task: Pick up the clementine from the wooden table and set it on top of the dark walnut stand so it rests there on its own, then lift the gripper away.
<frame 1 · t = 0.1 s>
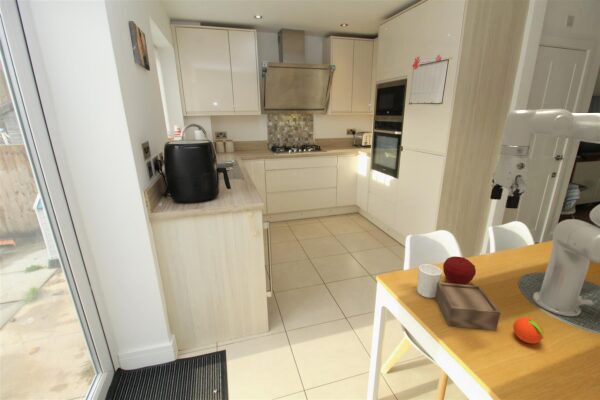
hand: (502, 203, 91), 37 cm above the table, tool pointing down, fingers open, 9 cm apart
white cup: (426, 293, 106), on the table
clementine: (526, 341, 83), on the table
apple: (456, 284, 111), on the table
walnut stand: (463, 313, 94), on the table
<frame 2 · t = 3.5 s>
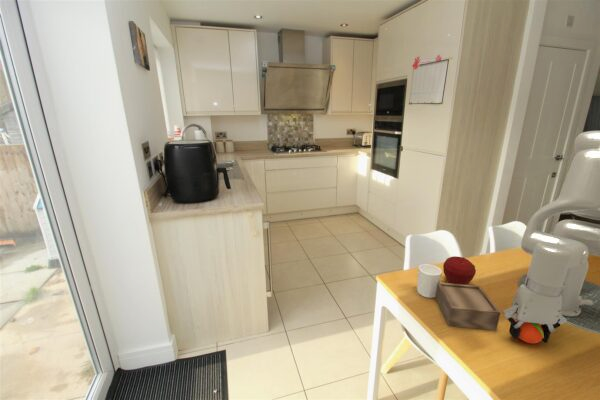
hand: (527, 337, 82), 1 cm above the table, tool pointing down, fingers closed on clementine, 7 cm apart
clementine: (527, 341, 83), on the table, touching gripper
everything else where it was.
when the fingers open (9 cm above the table, at t = 8.8 s): clementine drops 1 cm, resting on walnut stand.
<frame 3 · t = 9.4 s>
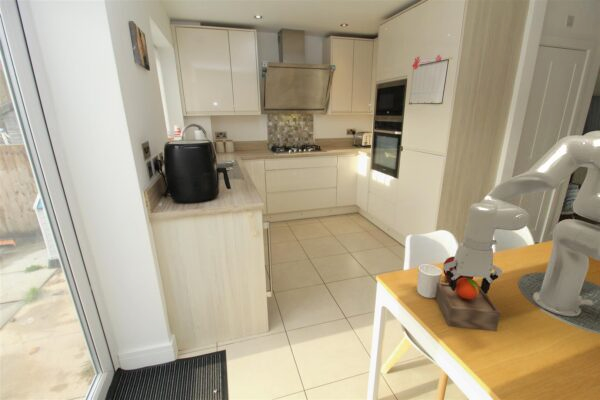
hand: (467, 289, 92), 9 cm above the table, tool pointing down, fingers open, 9 cm apart
clementine: (466, 298, 93), point 6 cm above the table, touching walnut stand
everything else where it was.
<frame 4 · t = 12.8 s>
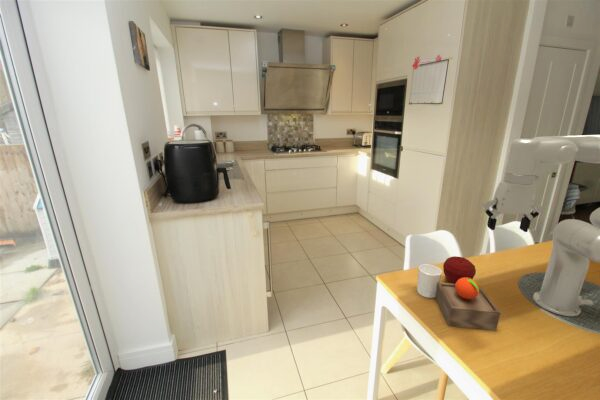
hand: (506, 229, 92), 28 cm above the table, tool pointing down, fingers open, 9 cm apart
nothing on the table moved.
at the end: clementine inside the target area on the walnut stand (0.1 cm from its centre), point 5.8 cm above the walnut stand's base; the gripper is holding nothing; clementine touching walnut stand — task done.
